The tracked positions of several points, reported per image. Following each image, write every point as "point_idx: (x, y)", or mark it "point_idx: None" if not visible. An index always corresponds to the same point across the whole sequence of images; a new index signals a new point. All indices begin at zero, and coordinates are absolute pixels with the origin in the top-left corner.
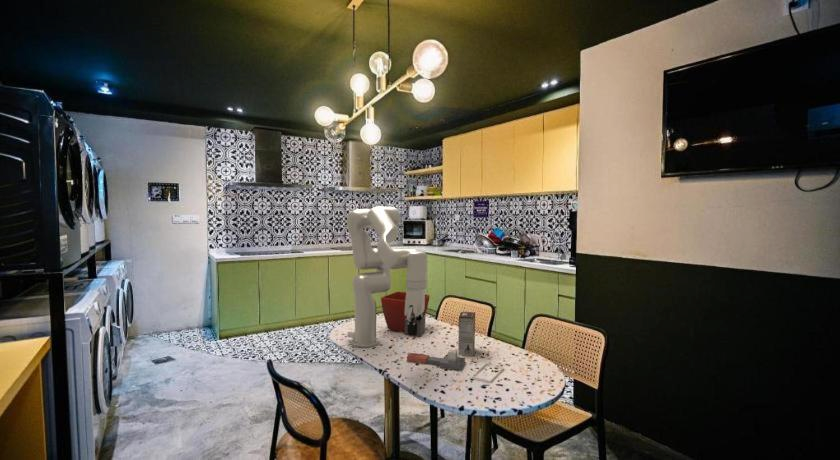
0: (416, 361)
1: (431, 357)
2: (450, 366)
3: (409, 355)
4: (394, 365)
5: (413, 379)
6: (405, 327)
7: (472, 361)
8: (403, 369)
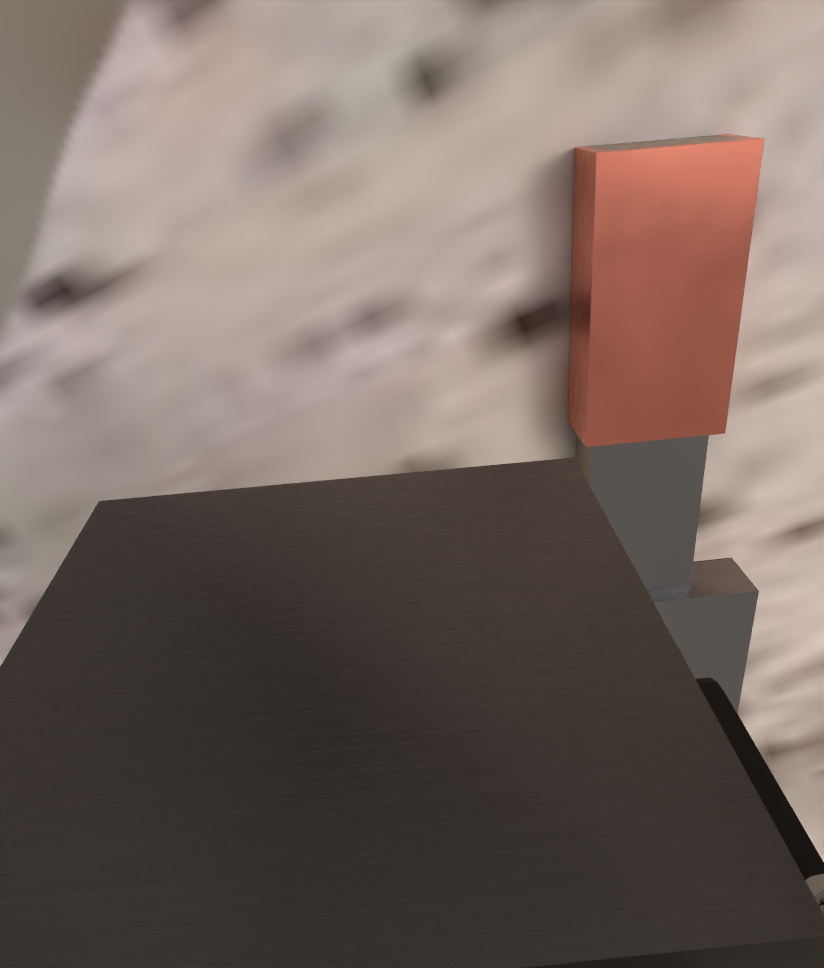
0: (576, 299)
1: (678, 467)
2: None
3: (639, 179)
4: (353, 39)
5: (86, 472)
6: (10, 693)
7: (764, 755)
8: (282, 239)
